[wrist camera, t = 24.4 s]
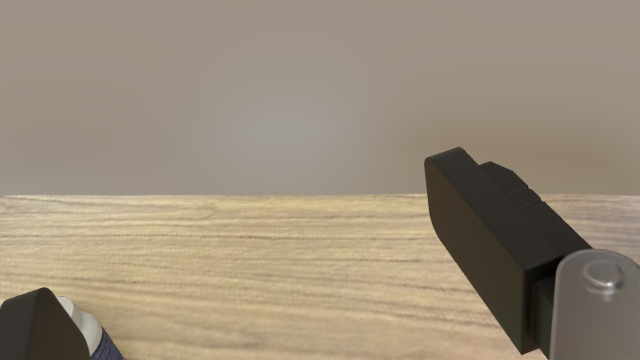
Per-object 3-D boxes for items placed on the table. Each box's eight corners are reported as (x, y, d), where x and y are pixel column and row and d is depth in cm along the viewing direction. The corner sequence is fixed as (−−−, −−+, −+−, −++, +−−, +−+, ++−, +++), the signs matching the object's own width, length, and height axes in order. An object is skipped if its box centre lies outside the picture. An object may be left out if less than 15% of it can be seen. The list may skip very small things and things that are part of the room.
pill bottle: (130, 353, 49) (80, 277, 43) (140, 402, 44) (86, 325, 39) (69, 382, 47) (8, 308, 42) (73, 436, 43) (6, 362, 37)
